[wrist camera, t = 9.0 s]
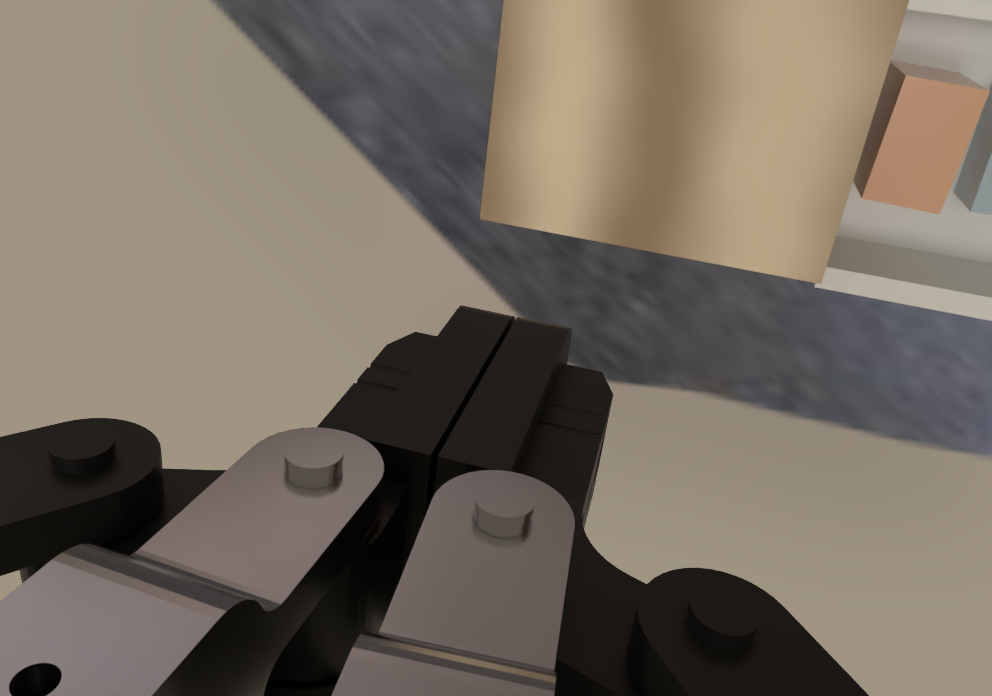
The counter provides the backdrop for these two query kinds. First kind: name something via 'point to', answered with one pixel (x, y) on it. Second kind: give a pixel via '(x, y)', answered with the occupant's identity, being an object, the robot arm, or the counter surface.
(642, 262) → the counter surface
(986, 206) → the slate tile
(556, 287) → the counter surface
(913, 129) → the terracotta tile
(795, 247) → the wooden block
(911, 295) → the tray
